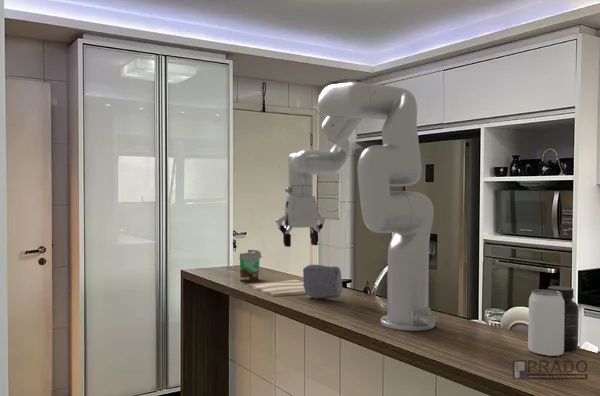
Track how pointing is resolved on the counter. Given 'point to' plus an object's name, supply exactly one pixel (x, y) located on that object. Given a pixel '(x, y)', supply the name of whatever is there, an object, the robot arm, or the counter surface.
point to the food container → (249, 265)
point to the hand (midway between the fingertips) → (301, 245)
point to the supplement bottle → (569, 317)
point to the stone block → (322, 281)
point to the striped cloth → (280, 288)
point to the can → (546, 322)
